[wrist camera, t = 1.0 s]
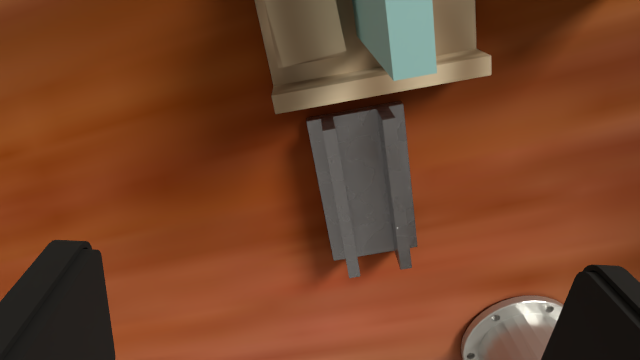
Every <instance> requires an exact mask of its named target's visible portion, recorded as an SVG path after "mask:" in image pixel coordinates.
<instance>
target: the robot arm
mask: <svg viewBox="0 0 640 360" xmlns="http://www.w3.org/2000/svg"><path fill="white" fill-rule="evenodd" d="M461 355H462V359H463V360H640V283H639V282H638V281H637V280H636V279H635V278H634V277H633V276H632V275H631V274H630V273H629V272H628V271H627V270H625V269H624V268H622V267H620V266H609V265H589V266H587V267H586V268H584V270H583V272H579V273H578V274H577V275H576V277H575V279H574V282H573V284H572V286H571V289H570V291H569V294H568V296H567V298H566V301H565V303H564V305H563V304H561V303H560V302H558V301H557V300H554V299H551V298H548V297H542V296H520V297H514V298H510V299H507V300H504V301H501V302H499V303H497V304H495V305H493V306H491V307H489V308H488V309H486V310H485V311H483V312H482V313H481V314H480V315H479V316H477V317H476V318H475V319H474V320H473V321H472V323H471V324H470V325H469V327H468V328H467V330H466V332H465V334H464V336H463V339H462V343H461ZM0 360H115V350H114V342H113V335H112V328H111V321H110V314H109V306H108V299H107V292H106V285H105V278H104V271H103V263H102V257H101V253H100V251H99V250H92V247H91V245H90V243H89V242H87V241H69V240H54V241H52V242H51V243H49V244H48V246H47V247H46V248H45V249H44V250H43V252H42V253H41V254H40V255H39V256H38V258H37V259H36V260H35V261H34V262H33V263H32V265H31V266H30V267H29V268H28V269H27V271H26V272H25V273H24V274H23V275H22V277H21V278H20V279H19V280H18V281H17V283H16V284H15V285H14V286H13V287H12V288H11V290H10V291H9V292H8V293H7V294H6V296H5V297H4V298H3V299H2V300H1V302H0Z"/></svg>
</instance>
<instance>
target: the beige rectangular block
mask: <svg viewBox="0 0 640 360" xmlns="http://www.w3.org/2000/svg"><path fill="white" fill-rule="evenodd" d="M264 3H265V7H266V12H267V17H268V21H269V26H270V31H271V36H272V40H273V45H274V50H275V54H276V59H277V64H278V68H280V67H287V66H291V65H297V64H302V63H307V62H313V61H318V60H324V59H329V58H334V57H340V56H345V53H344V51H346V47H345V42H344V38H343V33H342V28H341V24H340V19H339V12H338V6H337V0H264Z"/></svg>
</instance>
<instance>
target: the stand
mask: <svg viewBox="0 0 640 360" xmlns="http://www.w3.org/2000/svg"><path fill="white" fill-rule="evenodd" d="M306 122H307V127H308V132H309V137H310V142H311V147H312V152H313V157H314V163H315V168H316V173H317V178H318V183H319V188H320V193H321V198H322V203H323V208H324V214H325V219H326V224H327V229H328V234H329V239H330V244H331V249H332V254H333V259H334V261H335V260H341V259H346V263H347V268H348V274H349V278H353V277H359V276H360V271H359V265H358V259H357V257H359V256H364V255H370V254H376V253H382V252H388V251H395V254H396V257H397V260H398V263H399V266H400V269H407V268H412V265H411V256H410V248H412V247H417V238H416V228H415V218H414V208H413V198H412V188H411V178H410V168H409V158H408V148H407V137H406V127H405V117H404V107H403V103H402V102H401V101H397V102H392V103H386V104H381V105H375V106H369V107H364V108H358V109H353V110H347V111H342V112H336V113H331V114H325V115H320V116H314V117H309V118H306Z"/></svg>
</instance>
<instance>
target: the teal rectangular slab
mask: <svg viewBox="0 0 640 360" xmlns="http://www.w3.org/2000/svg"><path fill="white" fill-rule="evenodd" d="M352 4H353V11H354V19H355V26H356V33H357V37H358V38H359V39H360V40H361V42H362V43H363V44H364V45H365V46H366V48H367V49H368V50H369V51H370V53H371V54H372V55H373V56H374V57H375V59H376V60H377V61H378V62H379V64H380V65H381V66H382V67H383V69H384V70H385V71H386V72H387V73H388V75H389V76H390V77H391V78H392V80H393V81H397V80H402V79H408V78H413V77H419V76H424V75H429V74H435V73H437V65H436V50H435V34H434V19H433V3H432V0H352Z"/></svg>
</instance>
